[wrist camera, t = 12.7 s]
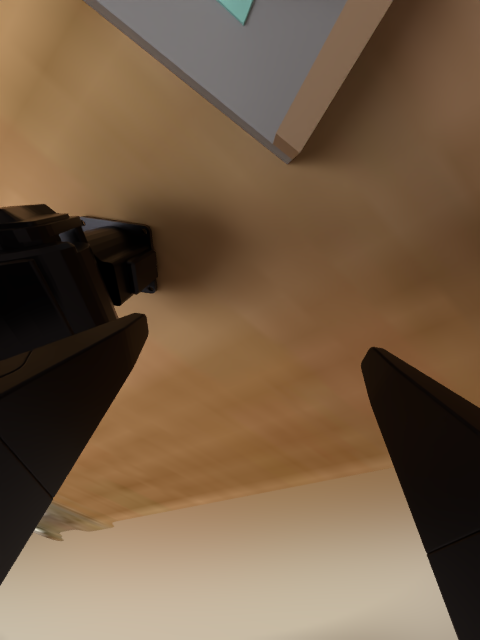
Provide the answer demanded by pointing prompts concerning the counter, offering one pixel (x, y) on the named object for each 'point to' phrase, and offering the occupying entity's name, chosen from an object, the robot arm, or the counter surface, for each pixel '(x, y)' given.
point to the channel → (255, 55)
